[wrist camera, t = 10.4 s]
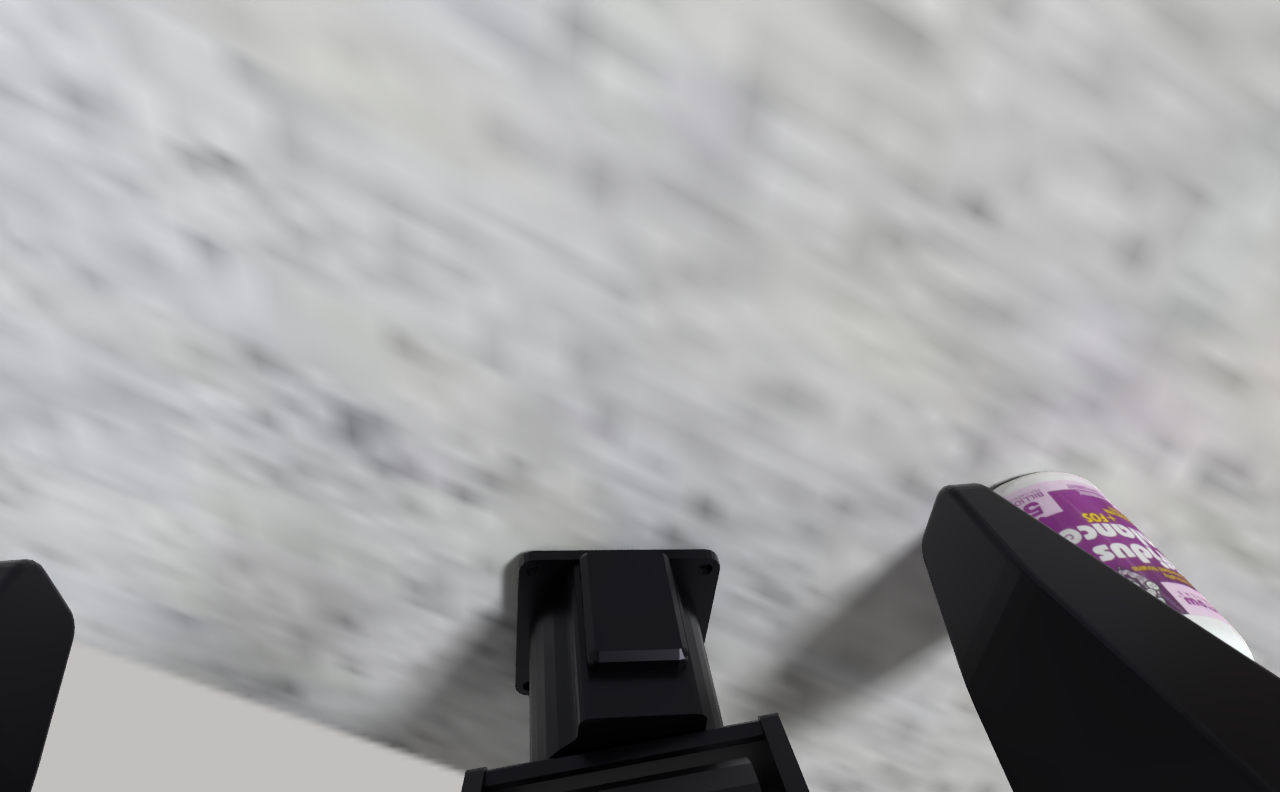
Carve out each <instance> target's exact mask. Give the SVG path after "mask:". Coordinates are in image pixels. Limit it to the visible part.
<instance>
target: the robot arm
mask: <svg viewBox="0 0 1280 792" xmlns="http://www.w3.org/2000/svg"><path fill="white" fill-rule="evenodd" d="M922 552H923V558H924V561H925V564H926V567H927V570H928V573H929V577H930V580H931V583H932V586H933V589H934V592H935V595H936V598H937V601H938V604H939V607H940V610H941V613H942V616H943V619H944V622H945V625H946V628H947V631H948V634H949V637H950V640H951V643H952V646H953V649H954V652H955V655H956V659H957V662H958V665H959V668H960V670H961V673H962V676H963V679H964V681H965V684H966V687H967V689H968V692H969V694H970V696H971V699H972V701H973V703H974V706H975V708H976V710H977V713H978V715H979V717H980V719H981V722H982V724H983V726H984V728H985V730H986V733H987V735H988V737H989V739H990V741H991V744H992V746H993V748H994V750H995V752H996V755H997V757H998V759H999V761H1000V764H1001V766H1002V768H1003V770H1004V772H1005V775H1006V777H1007V779H1008V781H1009V783H1010V786H1011V788H1012V790H1013V792H1280V678H1279V677H1278V676H1276V675H1275V674H1273V673H1272V672H1270V671H1269V670H1267V669H1265V668H1264V667H1262V666H1261V665H1259V664H1258V663H1256V662H1255V661H1253V660H1252V659H1250V658H1249V657H1247V656H1246V655H1244V654H1242V653H1241V652H1239V651H1238V650H1236V649H1235V648H1233V647H1232V646H1230V645H1229V644H1227V643H1226V642H1224V641H1223V640H1221V639H1219V638H1218V637H1216V636H1215V635H1213V634H1212V633H1210V632H1209V631H1207V630H1206V629H1204V628H1203V627H1201V626H1200V625H1198V624H1197V623H1195V622H1193V621H1192V620H1190V619H1189V618H1187V617H1186V616H1184V615H1183V614H1181V613H1180V612H1178V611H1177V610H1175V609H1174V608H1172V607H1170V606H1169V605H1167V604H1166V603H1164V602H1163V601H1161V600H1160V599H1158V598H1157V597H1155V596H1154V595H1152V594H1151V593H1149V592H1147V591H1146V590H1144V589H1143V588H1141V587H1140V586H1138V585H1137V584H1135V583H1134V582H1132V581H1131V580H1129V579H1128V578H1126V577H1124V576H1123V575H1121V574H1120V573H1118V572H1117V571H1115V570H1114V569H1112V568H1111V567H1109V566H1108V565H1106V564H1105V563H1103V562H1102V561H1100V560H1098V559H1097V558H1095V557H1094V556H1092V555H1091V554H1089V553H1088V552H1086V551H1085V550H1083V549H1082V548H1080V547H1079V546H1077V545H1075V544H1074V543H1072V542H1071V541H1069V540H1068V539H1066V538H1065V537H1063V536H1062V535H1060V534H1059V533H1057V532H1056V531H1054V530H1052V529H1051V528H1049V527H1048V526H1046V525H1045V524H1043V523H1042V522H1040V521H1039V520H1037V519H1036V518H1034V517H1033V516H1031V515H1029V514H1028V513H1026V512H1025V511H1023V510H1022V509H1020V508H1019V507H1017V506H1016V505H1014V504H1013V503H1011V502H1010V501H1008V500H1006V499H1005V498H1003V497H1002V496H1000V495H999V494H997V493H996V492H994V491H993V490H991V489H990V488H988V487H986V486H984V485H982V484H977V483H972V484H959V485H948V486H945V487H943V488H942V489H941V490H940V491H939V493H938V495H937V497H936V500H935V503H934V506H933V509H932V512H931V515H930V518H929V521H928V524H927V527H926V530H925V532H924V535H923V541H922ZM702 564H707V565H706V566H700V565H702ZM531 566H540V567H539V568H535V569H534V568H530V567H531ZM719 571H720V564H719V561H718V557H717V555H716V554H715V553H714V552H713V551H711V550H706V549H694V550H585V551H532V552H528V553H526V554H524V555H523V556H522V557H521V558H520V561H519V577H518V612H517V646H516V685H515V687H516V690H517V691H518V692H519V693H520V694H523V695H530V762H529V763H523V764H518V765H512V766H507V767H502V768H496V769H491V770H488V769H487V767H483V768H477V769H472V770H467V771H466V772H465V777H464V782H463V786H462V791H461V792H809V789H808V787H807V785H806V782H805V780H804V777H803V775H802V772H801V770H800V767H799V765H798V762H797V760H796V757H795V755H794V752H793V750H792V748H791V745H790V743H789V740H788V738H787V735H786V733H785V730H784V728H783V725H782V723H781V720H780V718H779V716H778V713H774V714H769V715H763V716H758V720H755V721H750V722H744V723H739V724H734V725H728V726H723V721H722V717H721V713H720V709H719V705H718V701H717V696H716V692H715V688H714V684H713V680H712V676H711V671H710V667H709V663H708V659H707V655H706V650H705V646H704V642H705V638H706V633H707V628H708V623H709V619H710V614H711V609H712V604H713V600H714V595H715V590H716V585H717V581H718V576H719ZM74 629H75V626H74V619H73V615H72V612H71V610H70V608H69V607H68V605H67V604H66V602H65V601H64V599H63V598H62V596H61V595H60V593H59V591H58V590H57V588H56V587H55V585H54V584H53V582H52V581H51V579H50V578H49V576H48V574H47V573H46V571H45V570H44V568H43V567H42V566H41V565H40V564H38V563H37V562H35V561H33V560H28V559H22V560H10V561H0V792H31V789H32V786H33V783H34V780H35V777H36V773H37V770H38V767H39V763H40V760H41V756H42V752H43V748H44V744H45V741H46V738H47V734H48V730H49V727H50V723H51V719H52V715H53V712H54V708H55V705H56V701H57V697H58V693H59V690H60V686H61V683H62V679H63V675H64V671H65V668H66V664H67V660H68V657H69V653H70V650H71V646H72V642H73V638H74Z"/></svg>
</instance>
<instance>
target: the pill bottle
mask: <svg viewBox="0 0 1280 792" xmlns="http://www.w3.org/2000/svg"><path fill="white" fill-rule="evenodd" d="M993 491H994V492H996V493H997V494H999V495H1000V496H1002V497H1003V498H1005V499H1006V500H1008V501H1010V502H1011V503H1013V504H1014V505H1016V506H1017V507H1019V508H1020V509H1022V510H1023V511H1025V512H1026V513H1028V514H1029V515H1031V516H1033V517H1034V518H1036V519H1037V520H1039V521H1040V522H1042V523H1043V524H1045V525H1046V526H1048V527H1049V528H1051V529H1052V530H1054V531H1056V532H1057V533H1059V534H1060V535H1062V536H1063V537H1065V538H1066V539H1068V540H1069V541H1071V542H1072V543H1074V544H1075V545H1077V546H1079V547H1080V548H1082V549H1083V550H1085V551H1086V552H1088V553H1089V554H1091V555H1092V556H1094V557H1095V558H1097V559H1098V560H1100V561H1102V562H1103V563H1105V564H1106V565H1108V566H1109V567H1111V568H1112V569H1114V570H1115V571H1117V572H1118V573H1120V574H1121V575H1123V576H1124V577H1126V578H1128V579H1129V580H1131V581H1132V582H1134V583H1135V584H1137V585H1138V586H1140V587H1141V588H1143V589H1144V590H1146V591H1147V592H1149V593H1151V594H1152V595H1154V596H1155V597H1157V598H1158V599H1160V600H1161V601H1163V602H1164V603H1166V604H1167V605H1169V606H1170V607H1172V608H1174V609H1175V610H1177V611H1178V612H1180V613H1181V614H1183V615H1184V616H1186V617H1187V618H1189V619H1190V620H1192V621H1193V622H1195V623H1197V624H1198V625H1200V626H1201V627H1203V628H1204V629H1206V630H1207V631H1209V632H1210V633H1212V634H1213V635H1215V636H1216V637H1218V638H1219V639H1221V640H1223V641H1224V642H1226V643H1227V644H1229V645H1230V646H1232V647H1233V648H1235V649H1236V650H1238V651H1239V652H1241V653H1242V654H1244V655H1246V656H1247V657H1249V658H1250V659H1252V660H1253V661H1254V659H1253V656H1252V654H1251V651H1250V649H1249V648H1248V646H1247V644H1246V643H1245V641H1244V640H1243V639H1242V637H1241V636H1240V635H1239V634H1238V633H1237V632H1236V630H1235V629H1234V628H1233V627H1232V626H1231V625H1230V624H1229V623H1228V622H1227V621H1226V620H1225V619H1224V618H1223V617H1222V616H1221V615H1220V614H1219V613H1218V612H1217V611H1216V610H1215V609H1214V608H1213V607H1212V605H1211V604H1210V603H1209V602H1208V601H1207V600H1206V599H1205V598H1204V597H1203V596H1202V595H1201V594H1200V593H1199V592H1198V591H1197V590H1196V589H1195V588H1194V587H1193V586H1192V585H1191V584H1190V583H1189V582H1188V581H1187V580H1186V579H1185V577H1184V576H1183V575H1182V574H1181V573H1180V572H1179V571H1178V570H1177V569H1176V568H1175V567H1174V566H1173V565H1172V564H1171V563H1170V562H1169V561H1168V559H1167V558H1166V557H1165V556H1164V555H1163V554H1162V553H1161V552H1160V551H1159V550H1158V549H1157V548H1156V547H1155V546H1154V545H1153V544H1152V543H1151V542H1150V541H1149V540H1148V539H1147V537H1146V536H1145V535H1144V534H1142V533H1141V532H1140V531H1139V530H1138V529H1137V528H1136V527H1135V526H1134V525H1133V524H1132V523H1131V522H1130V521H1129V520H1128V519H1127V518H1126V517H1125V516H1124V515H1123V513H1122V512H1120V511H1119V510H1118V509H1117V508H1116V507H1115V506H1114V505H1113V504H1112V503H1111V502H1110V501H1109V500H1108V499H1107V498H1106V497H1105V496H1104V495H1103V494H1102V492H1101V491H1100V490H1099V489H1098V488H1097V487H1095V486H1094V485H1093V484H1092V483H1090V482H1089V481H1087V480H1086V479H1083V478H1081V477H1078V476H1075V475H1072V474H1069V473H1062V472H1039V473H1033V474H1029V475H1025V476H1022V477H1019V478H1017V479H1014V480H1012V481H1009V482H1007V483H1005V484H1002V485H1001V486H999V487H997V488H996V489H994V490H993Z"/></svg>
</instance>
